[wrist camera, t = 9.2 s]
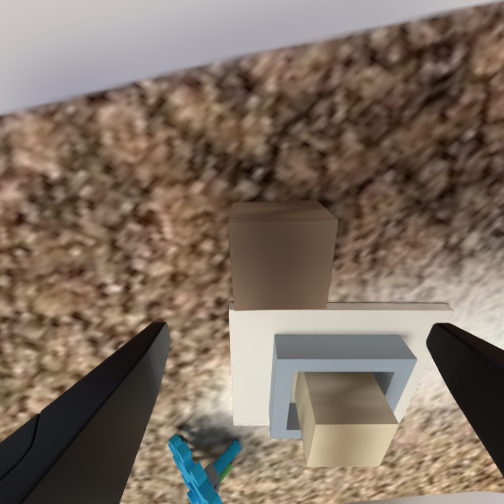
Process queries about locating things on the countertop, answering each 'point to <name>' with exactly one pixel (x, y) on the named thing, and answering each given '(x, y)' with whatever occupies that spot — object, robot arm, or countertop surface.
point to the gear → (202, 471)
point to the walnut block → (281, 254)
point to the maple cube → (343, 419)
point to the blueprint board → (325, 354)
